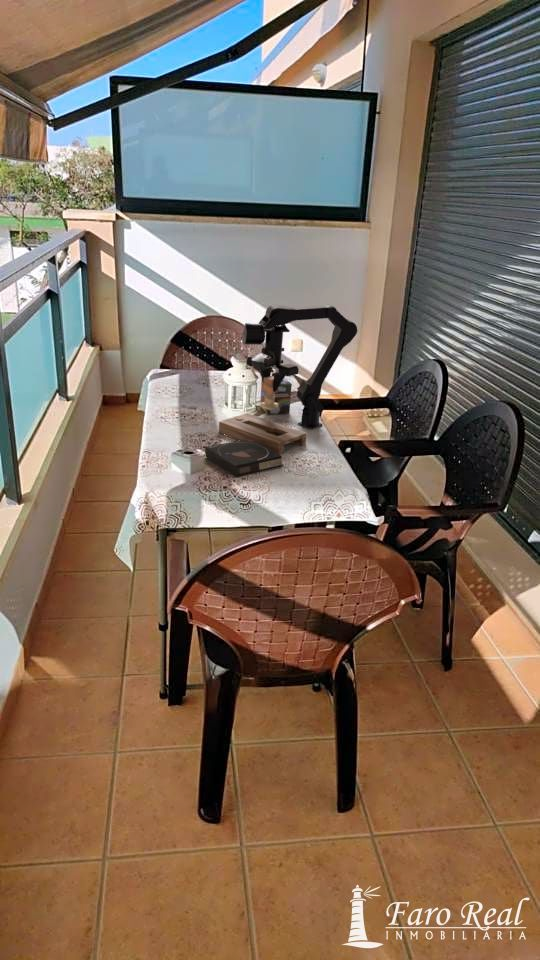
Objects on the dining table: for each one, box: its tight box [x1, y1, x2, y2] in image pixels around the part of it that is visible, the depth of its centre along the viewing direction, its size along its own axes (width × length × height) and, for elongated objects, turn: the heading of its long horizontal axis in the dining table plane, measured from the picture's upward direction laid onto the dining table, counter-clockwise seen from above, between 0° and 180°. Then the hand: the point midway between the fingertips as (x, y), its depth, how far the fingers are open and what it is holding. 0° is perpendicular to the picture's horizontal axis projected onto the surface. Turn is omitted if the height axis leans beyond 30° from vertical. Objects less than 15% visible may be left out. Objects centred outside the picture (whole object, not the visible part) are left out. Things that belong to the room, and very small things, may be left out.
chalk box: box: [260, 374, 293, 415], centre depth 249 cm, size 9×9×15 cm
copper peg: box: [259, 375, 278, 410], centre depth 230 cm, size 4×4×10 cm
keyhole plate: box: [218, 412, 307, 455], centre depth 222 cm, size 14×26×4 cm, turn 50°
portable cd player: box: [204, 439, 283, 478], centre depth 202 cm, size 16×17×4 cm
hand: (270, 390), depth 230 cm, fingers closed on copper peg, 4 cm apart
